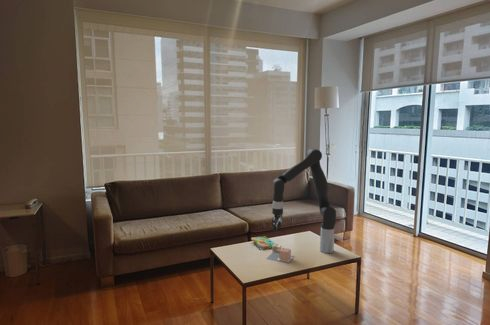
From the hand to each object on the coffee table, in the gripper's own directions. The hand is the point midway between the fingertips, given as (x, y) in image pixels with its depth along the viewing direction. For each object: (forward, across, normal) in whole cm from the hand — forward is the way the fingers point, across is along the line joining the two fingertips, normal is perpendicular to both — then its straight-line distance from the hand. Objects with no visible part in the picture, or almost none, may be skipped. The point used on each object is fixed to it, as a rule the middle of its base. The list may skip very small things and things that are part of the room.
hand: (277, 229), depth 229 cm
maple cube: (+17, 0, 0) cm, 17 cm away
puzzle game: (+17, +7, +13) cm, 23 cm away
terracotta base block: (+15, -11, -10) cm, 21 cm away
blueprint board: (+16, -11, -7) cm, 21 cm away
